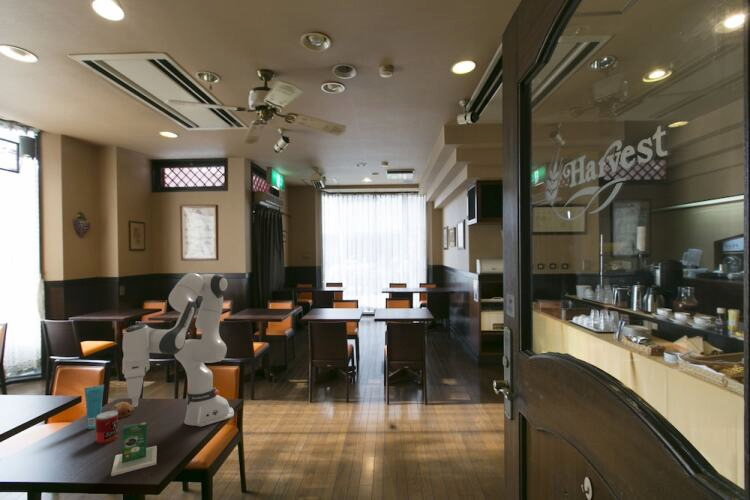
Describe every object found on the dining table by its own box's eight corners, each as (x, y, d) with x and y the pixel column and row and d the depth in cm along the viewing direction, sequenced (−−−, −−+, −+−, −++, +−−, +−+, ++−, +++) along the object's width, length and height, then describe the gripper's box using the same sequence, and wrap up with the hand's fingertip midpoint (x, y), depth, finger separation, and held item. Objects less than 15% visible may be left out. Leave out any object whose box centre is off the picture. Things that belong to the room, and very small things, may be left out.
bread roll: (124, 417, 185) (118, 403, 186) (140, 409, 184) (134, 395, 185) (107, 426, 175) (101, 411, 176) (124, 418, 174) (118, 403, 175)
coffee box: (147, 453, 141) (147, 420, 141) (146, 456, 139) (147, 423, 139) (122, 459, 137) (122, 425, 137) (121, 463, 134) (122, 428, 135)
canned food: (106, 444, 150) (106, 418, 151) (91, 443, 152) (91, 417, 152) (122, 436, 158) (122, 411, 158) (107, 434, 159) (108, 409, 160)
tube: (103, 422, 171) (103, 383, 171) (104, 426, 167) (104, 385, 168) (83, 428, 166) (83, 386, 166) (84, 431, 162) (84, 389, 163)
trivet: (156, 447, 147) (157, 445, 147) (156, 464, 135) (156, 461, 135) (115, 457, 140) (115, 455, 140) (111, 476, 128) (111, 473, 128)
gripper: (128, 361, 146) (128, 394, 146) (123, 375, 129) (123, 413, 128) (146, 358, 149) (146, 391, 149) (144, 372, 132) (144, 409, 132)
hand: (136, 401), depth 139 cm, fingers open, 8 cm apart
